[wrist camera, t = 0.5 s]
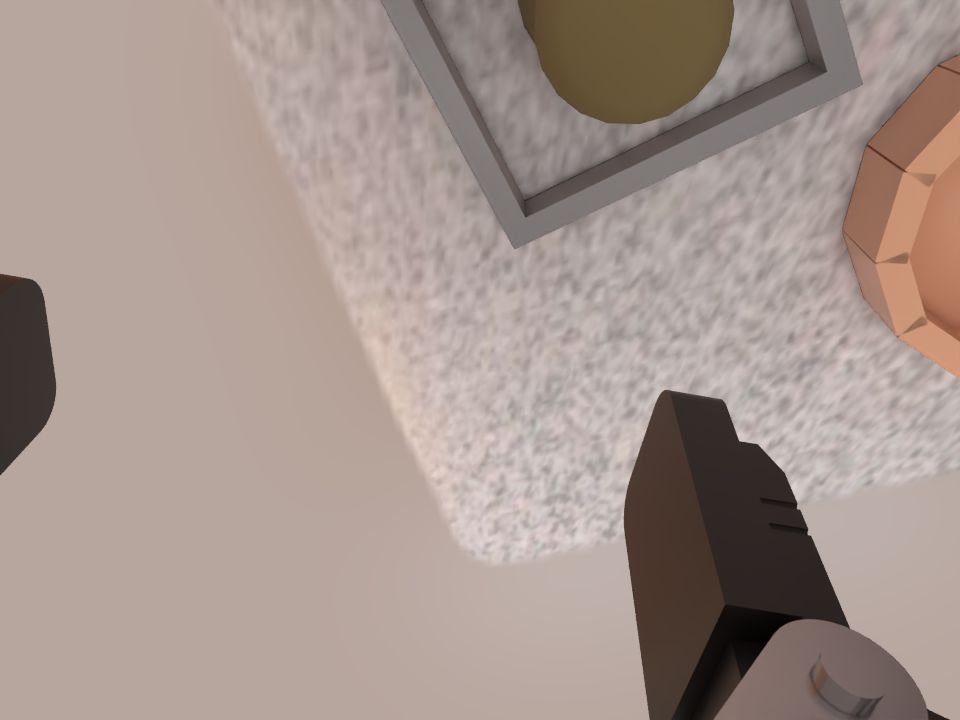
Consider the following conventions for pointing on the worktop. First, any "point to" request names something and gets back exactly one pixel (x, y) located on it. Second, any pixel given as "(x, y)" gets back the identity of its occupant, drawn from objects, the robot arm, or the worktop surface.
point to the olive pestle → (628, 52)
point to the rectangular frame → (647, 162)
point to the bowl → (913, 219)
